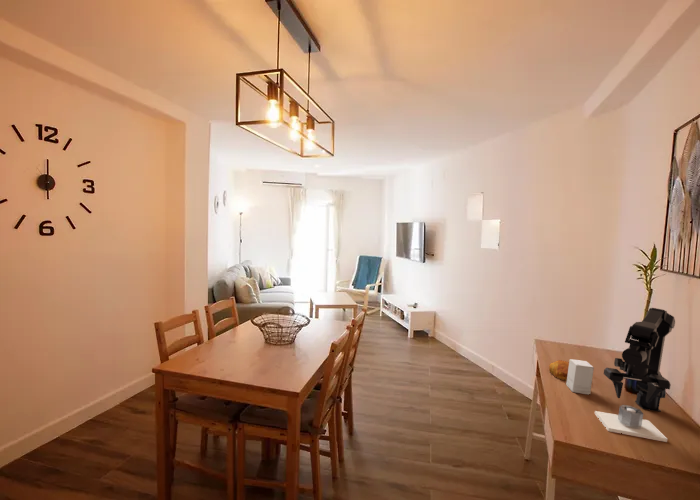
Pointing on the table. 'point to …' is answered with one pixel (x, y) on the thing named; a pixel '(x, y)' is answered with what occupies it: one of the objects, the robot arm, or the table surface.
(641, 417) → the tube
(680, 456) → the table surface
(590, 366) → the supplement box
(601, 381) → the table surface
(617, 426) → the shaft stand
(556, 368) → the croissant
